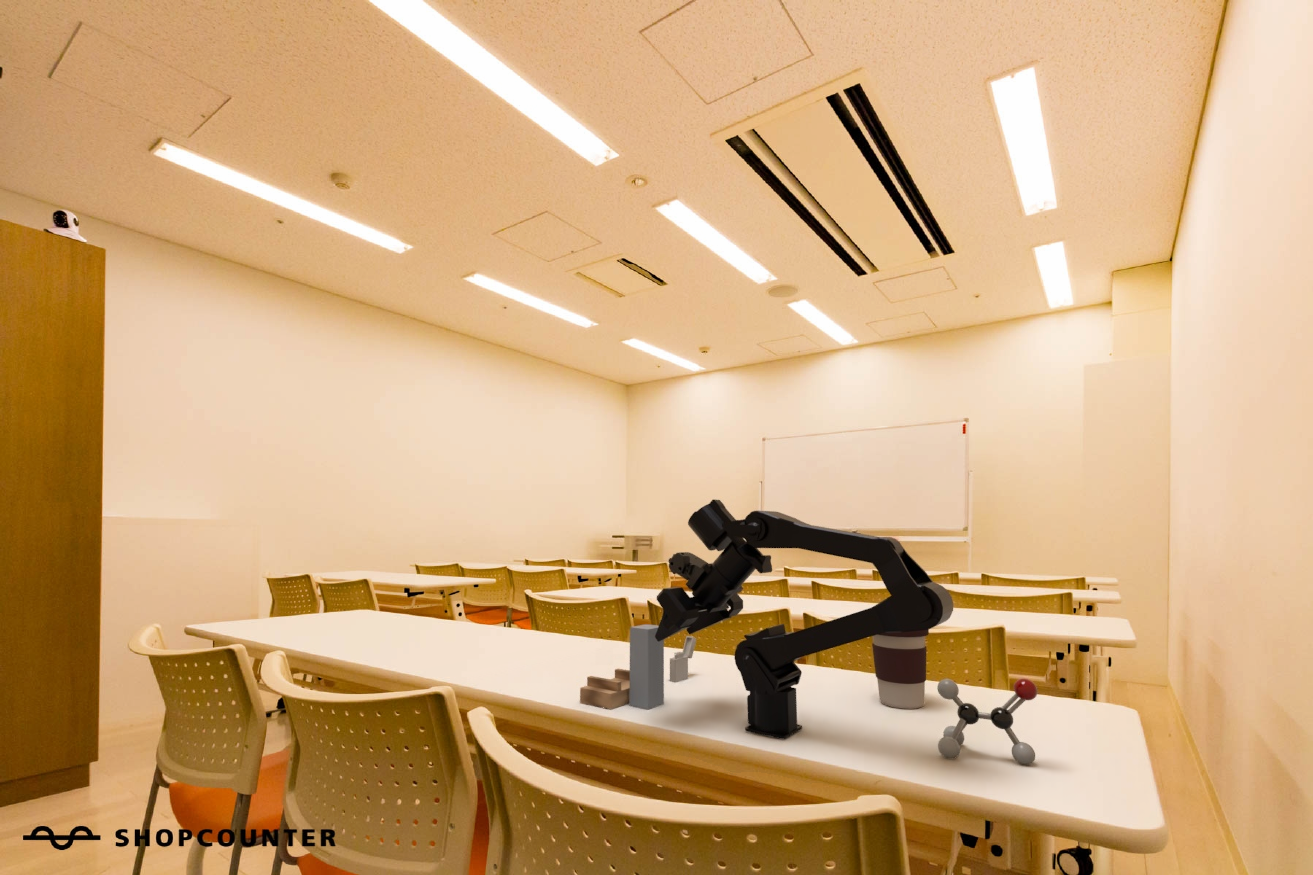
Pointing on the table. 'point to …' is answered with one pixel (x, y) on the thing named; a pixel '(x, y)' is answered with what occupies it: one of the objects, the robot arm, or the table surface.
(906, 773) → the table surface
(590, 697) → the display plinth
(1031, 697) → the molecular model
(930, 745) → the table surface
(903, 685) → the coffee cup
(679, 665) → the lighter
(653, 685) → the grey square pillar
